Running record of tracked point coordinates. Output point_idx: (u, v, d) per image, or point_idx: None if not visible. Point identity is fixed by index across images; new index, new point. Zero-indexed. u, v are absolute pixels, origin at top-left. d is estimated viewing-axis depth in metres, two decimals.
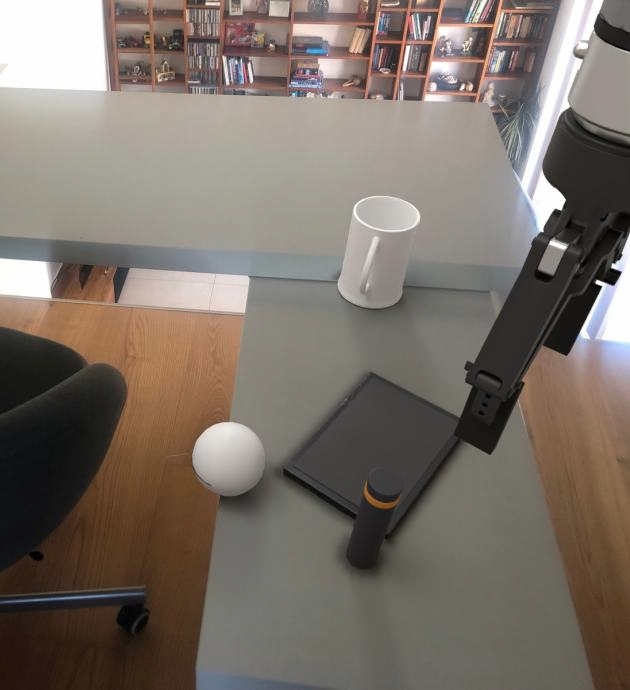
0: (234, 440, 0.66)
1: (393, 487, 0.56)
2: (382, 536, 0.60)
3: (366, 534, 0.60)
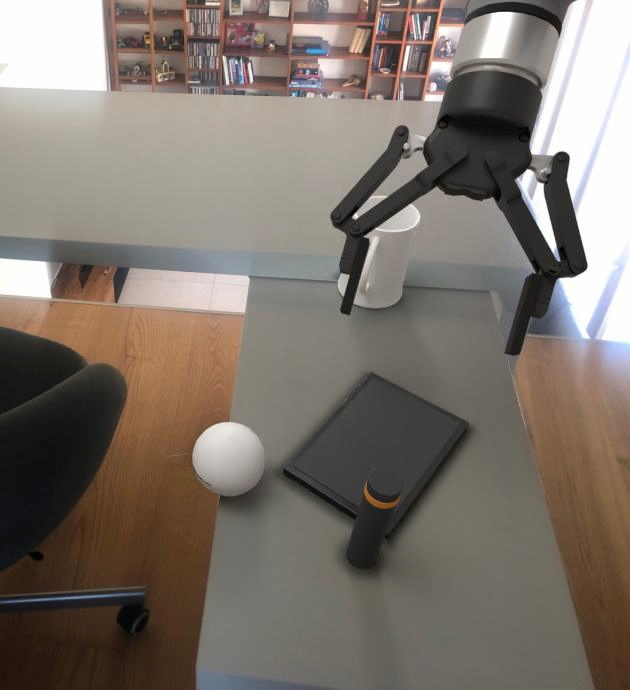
0: (234, 440, 0.66)
1: (393, 487, 0.56)
2: (382, 536, 0.60)
3: (366, 534, 0.60)
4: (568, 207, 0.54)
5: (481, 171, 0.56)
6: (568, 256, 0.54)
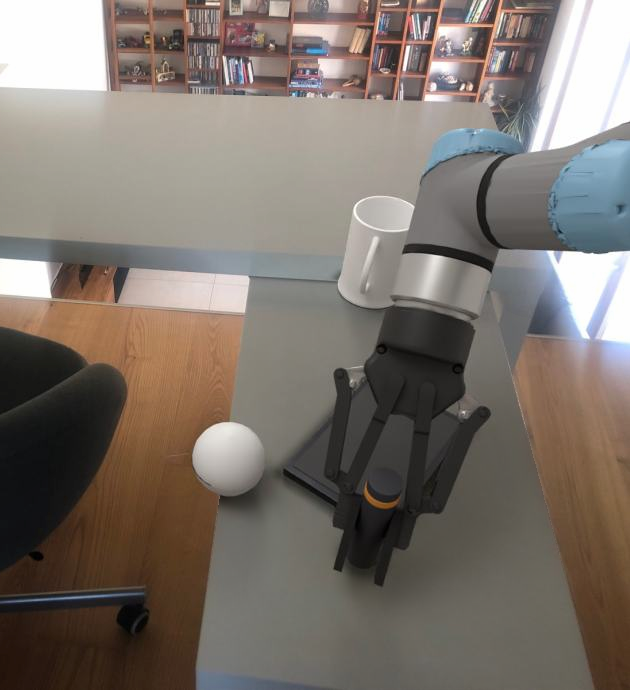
0: (234, 440, 0.66)
1: (393, 487, 0.56)
2: (382, 536, 0.60)
3: (366, 534, 0.60)
4: (460, 456, 0.57)
5: (417, 399, 0.59)
6: (433, 494, 0.58)
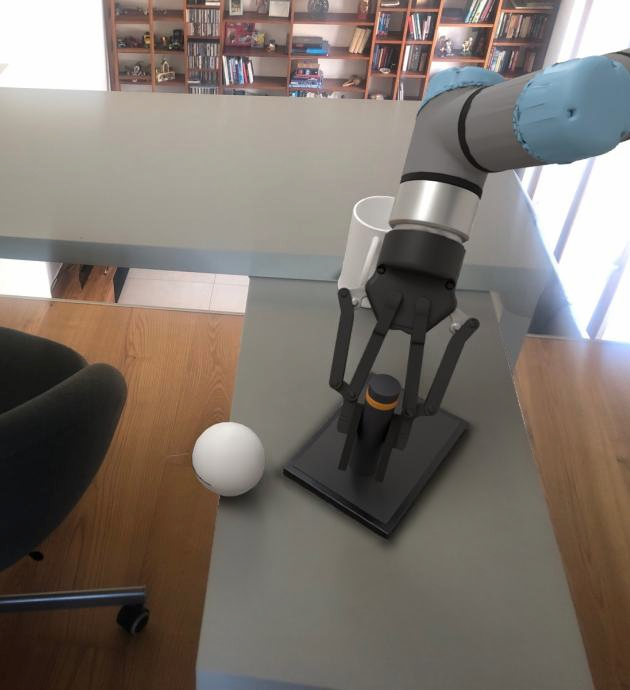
0: (234, 440, 0.66)
1: (392, 389, 0.63)
2: (382, 440, 0.67)
3: (367, 438, 0.67)
4: (452, 363, 0.64)
5: (413, 313, 0.65)
6: (428, 398, 0.64)
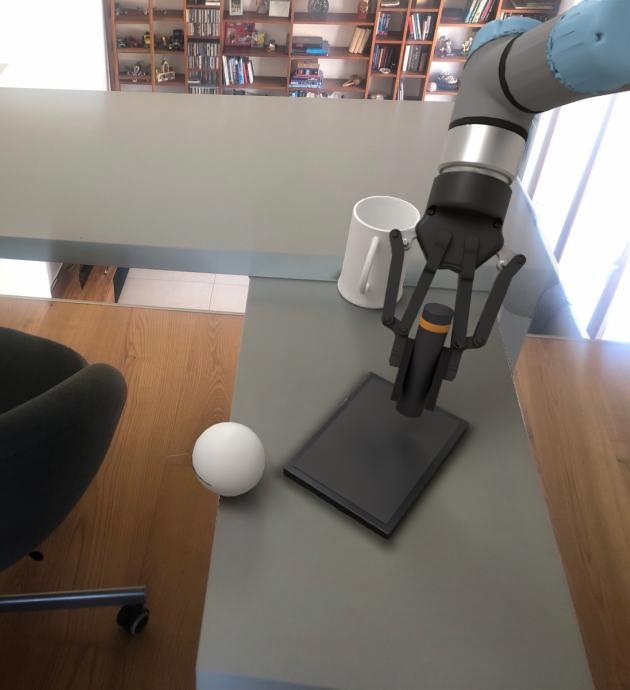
0: (234, 440, 0.66)
1: (446, 312, 0.67)
2: (432, 373, 0.69)
3: (418, 369, 0.69)
4: (500, 297, 0.67)
5: (462, 251, 0.69)
6: (477, 330, 0.68)
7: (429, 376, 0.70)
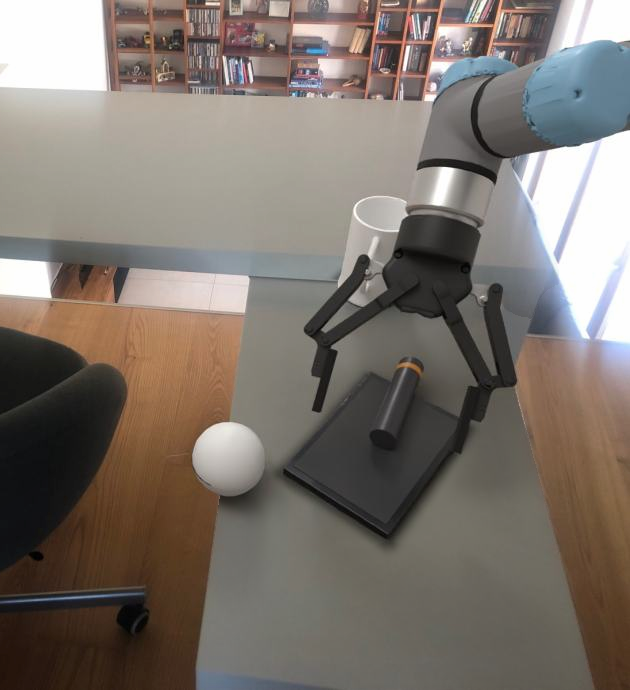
0: (234, 440, 0.66)
1: None
2: (408, 404, 0.74)
3: (399, 393, 0.75)
4: (501, 331, 0.65)
5: (429, 296, 0.67)
6: (501, 372, 0.64)
7: (407, 404, 0.74)
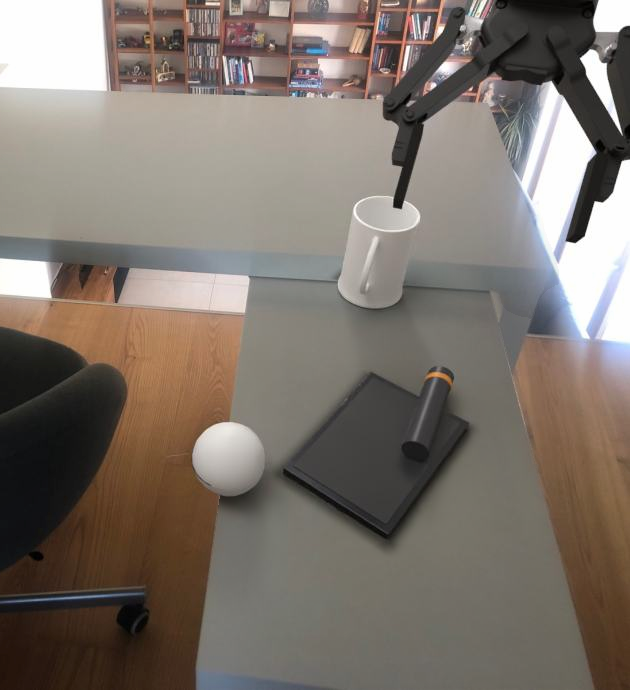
0: (234, 440, 0.66)
1: None
2: None
3: None
4: None
5: (542, 50, 0.54)
6: None
7: None
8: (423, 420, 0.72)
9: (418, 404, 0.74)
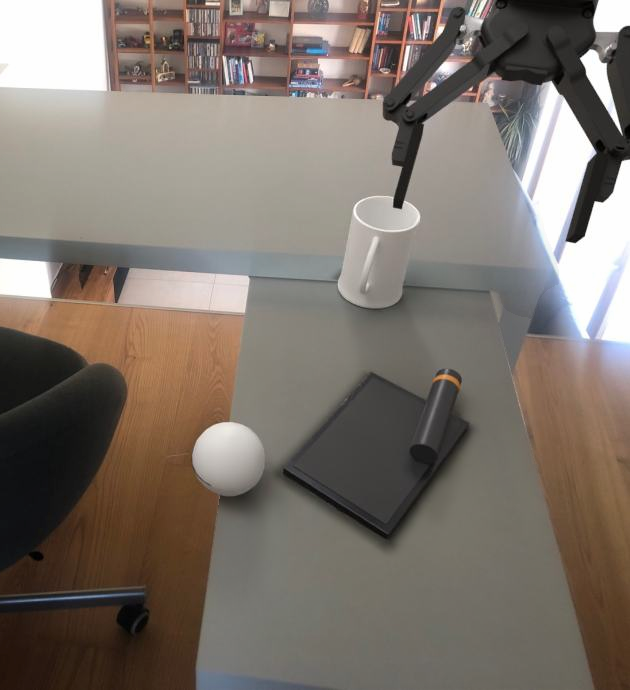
0: (234, 440, 0.66)
1: None
2: None
3: None
4: None
5: (542, 50, 0.54)
6: None
7: None
8: (439, 427, 0.71)
9: (433, 405, 0.73)
